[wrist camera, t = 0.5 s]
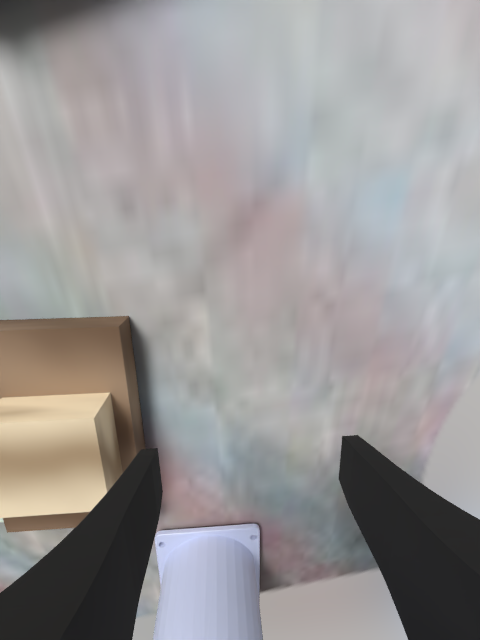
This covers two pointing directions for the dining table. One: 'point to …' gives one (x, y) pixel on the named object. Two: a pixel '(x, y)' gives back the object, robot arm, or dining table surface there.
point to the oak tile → (56, 453)
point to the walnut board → (73, 380)
